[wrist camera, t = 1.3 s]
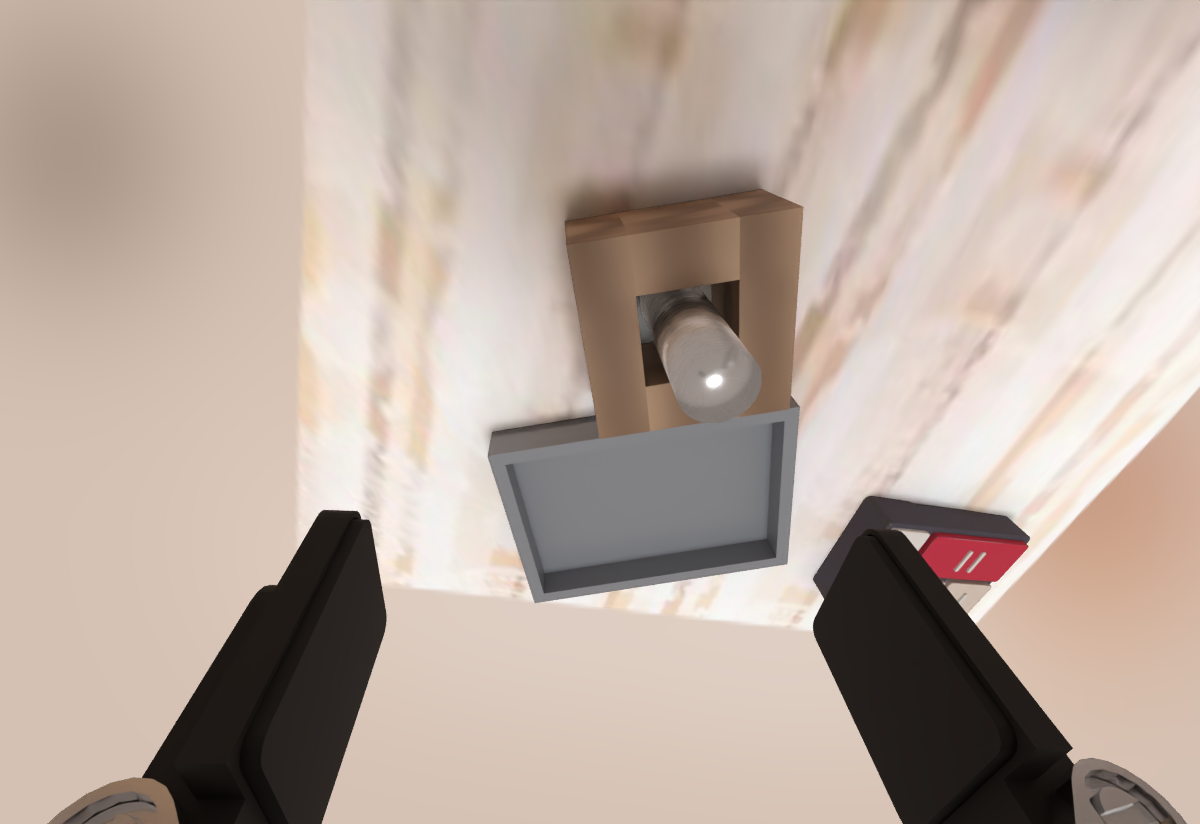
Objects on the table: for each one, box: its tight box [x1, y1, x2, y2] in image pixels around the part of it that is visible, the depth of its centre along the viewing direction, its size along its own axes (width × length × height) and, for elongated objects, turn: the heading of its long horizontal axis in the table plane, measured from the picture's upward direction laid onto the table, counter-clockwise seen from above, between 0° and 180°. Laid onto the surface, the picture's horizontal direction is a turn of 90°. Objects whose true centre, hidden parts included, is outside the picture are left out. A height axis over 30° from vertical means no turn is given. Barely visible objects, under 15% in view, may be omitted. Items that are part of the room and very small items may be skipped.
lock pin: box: [640, 286, 762, 423], centre depth 29 cm, size 4×4×12 cm
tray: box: [488, 396, 800, 603], centre depth 41 cm, size 22×16×3 cm
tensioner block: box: [565, 189, 803, 439], centre depth 31 cm, size 12×12×6 cm
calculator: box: [813, 496, 1030, 614], centre depth 47 cm, size 11×4×15 cm
